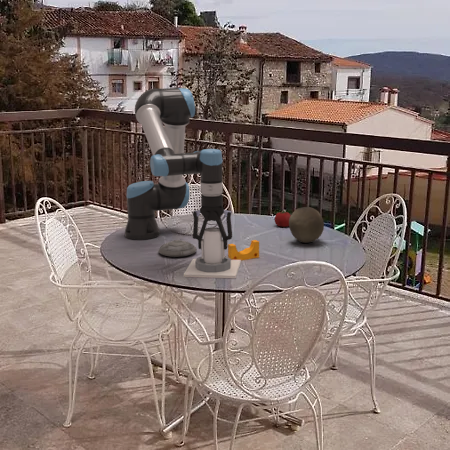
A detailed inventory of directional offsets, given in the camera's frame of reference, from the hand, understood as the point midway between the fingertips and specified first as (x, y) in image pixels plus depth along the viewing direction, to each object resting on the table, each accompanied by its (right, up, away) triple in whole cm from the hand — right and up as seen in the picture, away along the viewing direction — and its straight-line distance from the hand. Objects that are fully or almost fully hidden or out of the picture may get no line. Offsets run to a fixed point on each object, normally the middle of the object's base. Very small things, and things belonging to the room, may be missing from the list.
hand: (213, 257), depth 209 cm
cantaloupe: (+38, +4, +32) cm, 50 cm away
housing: (0, -4, +1) cm, 4 cm away
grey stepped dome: (-14, 0, +22) cm, 26 cm away
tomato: (+31, +11, +61) cm, 69 cm away
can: (0, -2, 0) cm, 2 cm away
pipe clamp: (+11, -1, +14) cm, 18 cm away
